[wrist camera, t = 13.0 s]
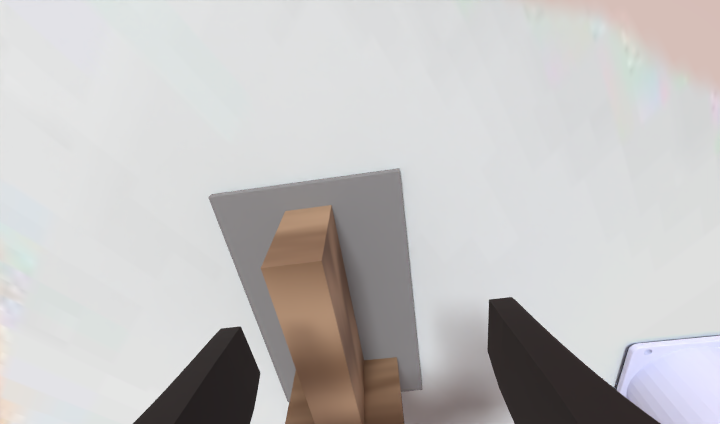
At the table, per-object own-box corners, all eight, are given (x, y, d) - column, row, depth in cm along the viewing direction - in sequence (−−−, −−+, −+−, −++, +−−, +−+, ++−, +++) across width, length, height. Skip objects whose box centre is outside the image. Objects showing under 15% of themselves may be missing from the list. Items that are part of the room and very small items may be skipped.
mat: (399, 168, 18) (400, 171, 17) (421, 384, 25) (422, 389, 25) (211, 194, 18) (208, 197, 18) (289, 396, 26) (288, 401, 26)
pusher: (244, 216, 18) (207, 274, 14) (373, 199, 18) (377, 254, 14) (299, 376, 24) (285, 452, 20) (398, 367, 24) (406, 443, 19)
